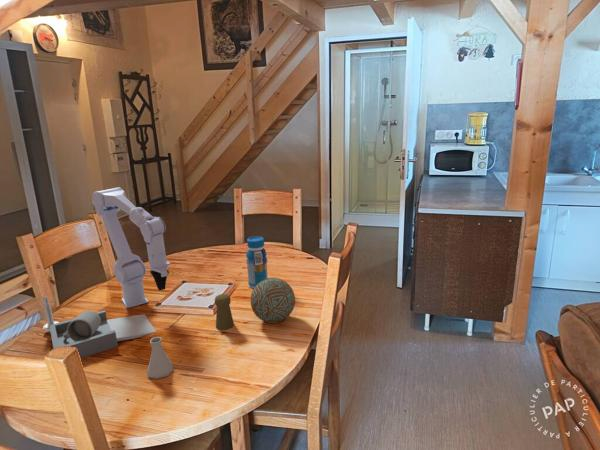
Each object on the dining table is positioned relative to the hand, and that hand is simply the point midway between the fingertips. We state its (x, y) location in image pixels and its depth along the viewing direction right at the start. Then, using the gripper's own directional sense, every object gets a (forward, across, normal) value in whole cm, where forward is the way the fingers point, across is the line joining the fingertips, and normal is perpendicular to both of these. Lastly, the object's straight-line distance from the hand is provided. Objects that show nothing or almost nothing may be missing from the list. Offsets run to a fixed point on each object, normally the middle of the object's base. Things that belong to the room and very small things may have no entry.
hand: (161, 289), depth 144 cm
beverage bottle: (+10, +1, -39) cm, 40 cm away
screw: (+10, +11, +35) cm, 38 cm away
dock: (+10, -4, +20) cm, 23 cm away
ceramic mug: (+8, -3, +27) cm, 28 cm away
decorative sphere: (+10, -28, -29) cm, 42 cm away
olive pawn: (+10, -21, -14) cm, 27 cm away
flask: (+10, -34, +11) cm, 37 cm away
